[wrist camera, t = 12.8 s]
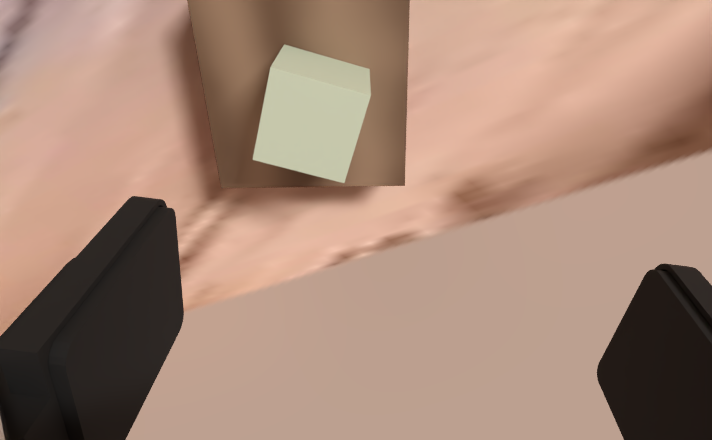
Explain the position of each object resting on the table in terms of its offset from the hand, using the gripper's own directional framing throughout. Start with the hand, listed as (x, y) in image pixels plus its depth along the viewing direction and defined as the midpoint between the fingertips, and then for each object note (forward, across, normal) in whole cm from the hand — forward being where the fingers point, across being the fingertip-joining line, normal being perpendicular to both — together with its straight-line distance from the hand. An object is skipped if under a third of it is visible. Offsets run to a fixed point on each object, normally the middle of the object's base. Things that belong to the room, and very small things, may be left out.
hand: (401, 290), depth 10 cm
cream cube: (+21, +4, +3) cm, 22 cm away
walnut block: (+26, +5, +4) cm, 27 cm away
